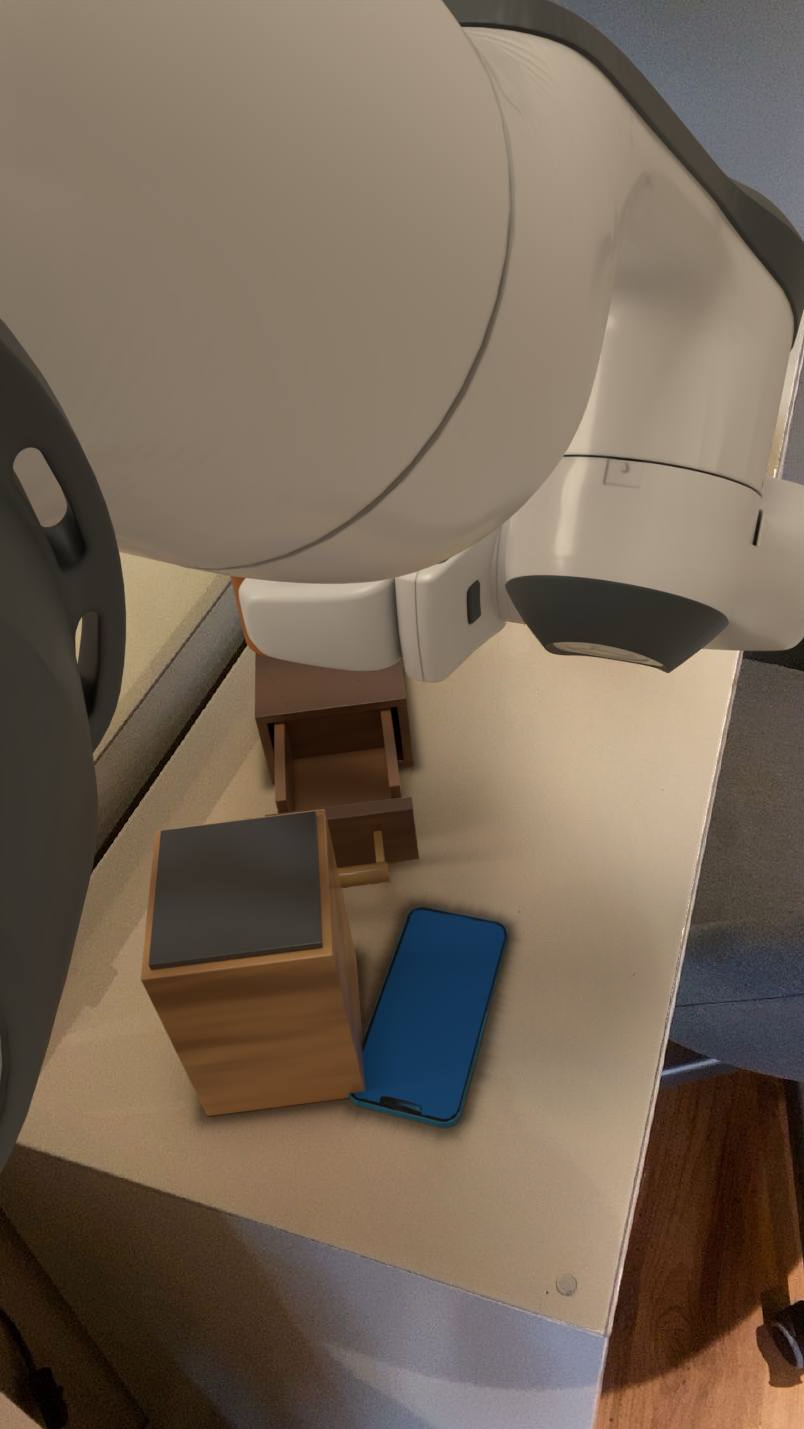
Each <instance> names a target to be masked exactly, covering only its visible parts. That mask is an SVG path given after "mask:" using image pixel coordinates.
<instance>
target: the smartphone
mask: <svg viewBox="0 0 804 1429" xmlns="http://www.w3.org/2000/svg"><path fill="white" fill-rule="evenodd" d="M508 939H509V931H508V929H507V927H506V926H505V924H504V923H502V922H501V921H498V920H494V919H488V918H483V917H478V916H474V915H468V914H463V913H458V912H453V911H448V910H443V909H438V908H434V907H428V906H421V905H419V906H416V907H414V908H412V909H410V910H409V911H408V912H407V914H406V917H405V920H404V922H403V925H402V928H401V931H400V934H399V937H398V940H397V942H396V945H395V948H394V950H393V954H392V956H391V959H390V962H389V964H388V968H387V971H386V973H385V976H384V979H383V982H382V985H381V988H380V990H379V993H378V996H377V999H376V1002H375V1004H374V1007H373V1010H372V1013H371V1016H370V1019H369V1022H368V1024H367V1027H366V1029H365V1032H364V1036H363V1037H362V1050H363V1064H364V1078H365V1091H364V1092H358V1093H349V1098H348V1099H349V1101H350V1102H351V1103H352V1104H353V1105H355V1106H357V1107H359V1108H363V1109H367V1110H370V1111H374V1112H379V1113H381V1114H386V1115H390V1116H395V1117H398V1118H402V1119H406V1120H410V1121H414V1122H417V1123H420V1124H425V1125H428V1126H432V1127H435V1128H441V1129H449V1128H452V1127H453V1126H455V1125H457V1123H458V1122H459V1121H460V1120H461V1117H462V1114H463V1110H464V1106H465V1103H466V1099H467V1096H468V1092H469V1088H470V1084H471V1080H472V1077H473V1074H474V1070H475V1067H476V1063H477V1059H478V1058H477V1057H478V1056H479V1052H480V1048H481V1044H482V1039H483V1035H484V1031H485V1026H486V1023H487V1020H488V1015H489V1012H490V1007H491V1005H492V1001H493V996H494V994H495V993H494V992H495V988H496V986H497V982H498V978H499V974H500V971H501V967H502V963H503V959H504V955H505V953H506V952H505V951H506V948H507V944H508Z"/></svg>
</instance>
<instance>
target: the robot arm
mask: <svg viewBox="0 0 804 1429" xmlns="http://www.w3.org/2000/svg"><path fill="white" fill-rule="evenodd" d="M706 150H707V149H705V148H704V147H703V145H702V144H701V143H700V141H698V139H697V138H696V137H695V136H694V134H693V133H692V132H691V130H690V128H688V127H687V125H686V124H685V123H684V122H683V120H681V118H680V117H679V116H678V114H676V112H675V111H674V110H673V109H672V107H671V106H670V105H669V104H668V101H666V100H665V98H664V97H663V96H662V95H661V93H660V92H659V91H658V90H657V89H656V87H654V85H653V84H652V83H651V82H650V80H648V78H647V77H646V75H644V73H643V72H642V71H641V70H640V69H639V68H638V67H637V66H636V64H634V62H633V61H632V60H631V59H630V58H629V57H628V56H627V55H626V54H625V52H624V51H622V50H621V49H620V48H619V47H618V46H617V45H616V44H615V43H614V42H613V41H612V40H611V39H609V37H607V36H606V35H605V34H604V33H603V32H601V31H600V29H598V28H596V27H595V26H594V25H592V24H591V23H590V22H589V21H587V20H586V19H584V18H582V17H581V16H580V15H578V14H576V13H575V12H573V11H572V10H570V9H568V8H566V7H564V6H562V5H560V4H558V3H557V2H553V1H551V0H0V1175H1V1173H2V1172H3V1170H4V1168H5V1166H6V1164H7V1162H8V1160H9V1158H10V1157H11V1153H12V1152H13V1150H14V1148H15V1146H16V1143H17V1142H18V1138H19V1136H20V1133H21V1132H22V1129H23V1126H24V1124H25V1123H26V1122H25V1121H26V1119H27V1117H28V1114H29V1111H30V1108H31V1104H32V1101H33V1097H34V1094H35V1090H36V1087H37V1084H38V1081H39V1077H40V1074H41V1071H42V1067H43V1065H44V1061H45V1058H46V1055H47V1051H48V1049H49V1044H50V1041H51V1036H52V1032H53V1029H54V1024H55V1021H56V1017H57V1013H58V1010H59V1006H60V1003H61V999H62V996H63V992H64V989H65V985H66V982H67V978H68V974H69V970H70V966H71V961H72V957H73V953H74V948H75V945H76V940H77V936H78V932H79V928H80V925H81V924H80V923H81V919H82V915H83V910H84V906H85V901H86V898H87V894H88V890H89V886H90V881H91V878H92V872H93V869H94V868H93V867H94V862H95V857H96V856H95V855H96V849H97V841H98V829H99V795H98V782H97V774H96V767H95V759H94V753H95V752H96V750H97V748H98V747H99V746H100V744H101V743H102V740H103V739H104V737H105V736H106V733H107V731H108V730H109V727H110V725H111V724H112V721H113V718H114V716H115V713H116V711H117V708H118V703H119V700H120V696H121V691H122V685H123V684H122V683H123V676H124V670H125V660H126V659H125V657H126V645H127V607H126V606H127V605H126V591H125V581H124V575H123V573H124V572H123V567H122V560H121V555H120V554H125V555H130V556H133V557H139V558H143V559H148V560H152V561H157V562H160V563H166V564H170V565H174V566H179V567H181V568H186V569H191V570H196V571H201V572H206V573H212V574H218V575H221V576H222V575H223V576H229V577H230V576H234V577H243V578H245V580H244V581H243V582H242V584H241V586H240V588H239V601H240V605H241V610H242V615H243V619H244V622H245V626H246V630H247V634H248V636H249V638H250V640H251V641H252V643H253V644H254V645H255V646H256V647H257V648H258V649H259V650H260V651H261V652H262V653H264V654H265V655H268V656H270V657H274V658H277V659H281V660H286V661H291V662H296V663H301V664H307V665H313V666H319V667H326V668H333V669H341V670H350V671H376V670H381V669H385V668H387V667H390V666H392V665H394V664H396V663H397V662H398V661H400V660H401V661H402V662H403V663H402V664H403V667H404V673H405V674H406V676H407V677H408V678H409V679H412V680H415V681H418V682H422V683H431V684H433V683H440V682H443V681H445V680H447V678H449V677H450V676H451V675H452V674H453V673H454V672H456V670H457V669H458V668H459V667H460V666H461V665H462V664H463V663H464V662H465V661H466V660H467V659H469V657H471V656H472V655H473V654H475V652H476V651H477V650H478V649H480V648H481V646H483V645H484V644H485V643H486V642H488V641H489V640H490V639H491V638H493V637H495V636H497V635H498V634H499V633H500V632H501V631H502V630H503V629H505V627H506V626H507V623H514V624H515V623H516V624H520V625H521V624H522V625H525V626H526V627H527V628H528V629H529V631H530V632H531V633H532V634H533V635H534V637H535V639H537V641H538V642H539V644H540V645H541V646H542V647H543V649H544V650H545V651H546V652H548V653H550V654H552V655H555V656H556V655H557V656H565V657H566V656H567V657H569V656H571V657H573V656H576V657H577V656H578V657H579V656H580V657H590V658H597V659H599V658H600V659H606V660H612V661H617V662H625V663H630V664H635V665H641V666H645V667H650V668H654V669H656V670H659V671H661V672H664V673H665V674H670V673H671V672H673V671H674V670H676V669H677V668H678V667H680V666H681V665H683V664H684V663H685V662H687V661H688V660H689V659H690V658H692V657H694V656H695V655H696V654H697V653H698V652H700V651H701V650H715V651H739V652H773V651H774V652H776V651H777V652H778V651H779V652H780V651H787V650H791V649H792V648H794V647H796V646H797V645H798V644H799V643H800V642H802V640H803V639H804V484H800V483H797V482H793V481H789V480H785V479H782V478H778V477H774V476H769V475H768V470H769V465H770V460H771V454H772V449H773V444H774V439H775V433H776V429H777V424H778V416H779V413H780V407H781V403H782V402H781V401H782V397H783V392H784V387H785V381H786V377H787V371H788V365H789V360H790V355H791V352H792V350H793V348H794V346H795V343H796V340H797V336H798V332H799V329H800V325H801V322H802V318H803V314H804V240H803V238H802V237H801V235H800V233H799V232H798V230H797V229H796V228H795V226H794V224H793V223H792V222H791V221H790V219H789V218H788V217H787V216H786V215H785V213H783V211H782V210H781V209H780V208H779V207H778V206H777V205H776V204H775V203H774V202H772V201H771V200H770V199H769V198H768V197H766V196H765V195H764V194H762V193H761V192H759V191H758V190H756V189H755V188H752V187H750V186H748V185H746V184H744V183H743V182H740V181H738V180H736V179H733V178H732V177H729V176H728V175H727V174H726V173H725V172H724V171H723V170H722V169H721V167H720V166H719V165H718V164H717V163H716V161H715V160H714V159H713V157H711V155H710V154H709V152H708V151H706ZM80 621H81V629H80V630H81V631H80V639H79V640H80V641H79V649H78V656H77V647H76V646H77V645H76V636H77V630H78V626H79V624H80Z"/></svg>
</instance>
